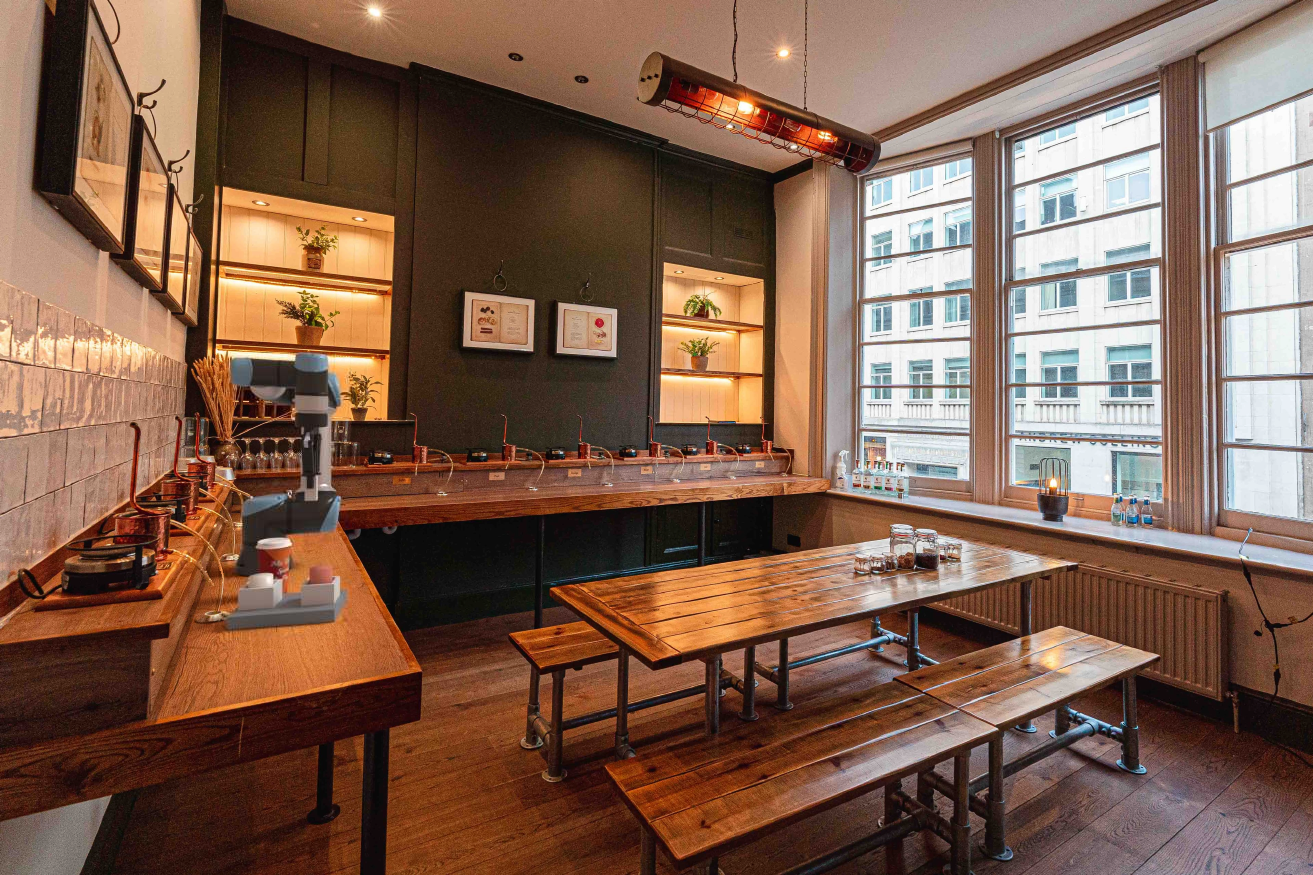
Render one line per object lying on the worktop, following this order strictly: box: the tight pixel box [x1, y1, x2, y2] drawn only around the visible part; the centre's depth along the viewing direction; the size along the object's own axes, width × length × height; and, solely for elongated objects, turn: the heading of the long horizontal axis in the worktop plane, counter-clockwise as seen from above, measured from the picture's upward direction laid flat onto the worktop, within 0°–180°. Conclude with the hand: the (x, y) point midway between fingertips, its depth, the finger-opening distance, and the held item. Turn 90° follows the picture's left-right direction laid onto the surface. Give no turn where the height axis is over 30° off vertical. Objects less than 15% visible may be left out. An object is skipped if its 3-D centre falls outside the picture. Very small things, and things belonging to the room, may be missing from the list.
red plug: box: [309, 564, 334, 585], centre depth 145 cm, size 5×5×7 cm
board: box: [226, 575, 348, 631], centre depth 143 cm, size 16×22×8 cm
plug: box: [247, 573, 273, 588], centre depth 141 cm, size 5×5×7 cm
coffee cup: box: [256, 537, 293, 594], centre depth 157 cm, size 8×8×15 cm
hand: (311, 500), depth 153 cm, fingers closed
